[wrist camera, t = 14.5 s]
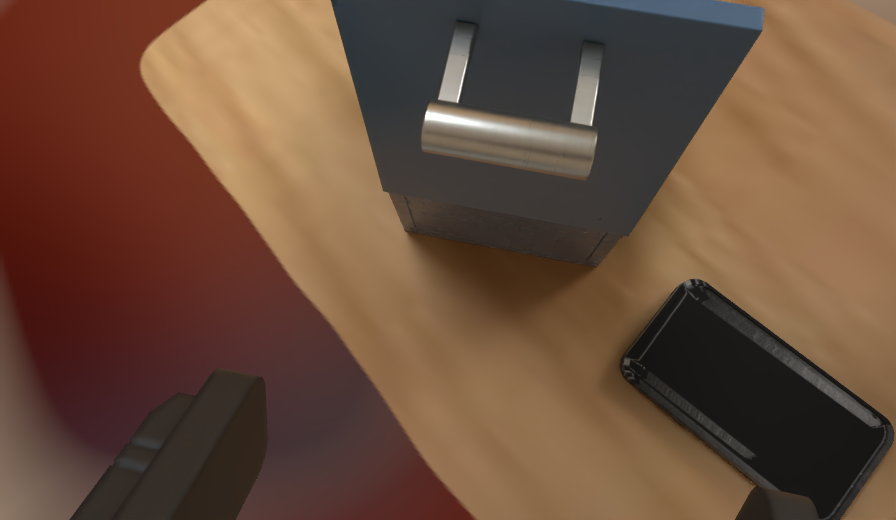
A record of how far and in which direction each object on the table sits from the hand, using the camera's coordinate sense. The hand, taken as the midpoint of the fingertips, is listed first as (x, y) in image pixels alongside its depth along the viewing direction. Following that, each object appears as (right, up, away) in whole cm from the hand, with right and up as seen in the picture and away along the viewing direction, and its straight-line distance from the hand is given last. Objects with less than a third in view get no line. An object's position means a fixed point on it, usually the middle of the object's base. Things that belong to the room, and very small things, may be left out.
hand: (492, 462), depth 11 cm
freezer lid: (+2, +9, +16) cm, 19 cm away
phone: (+18, -5, +31) cm, 36 cm away
